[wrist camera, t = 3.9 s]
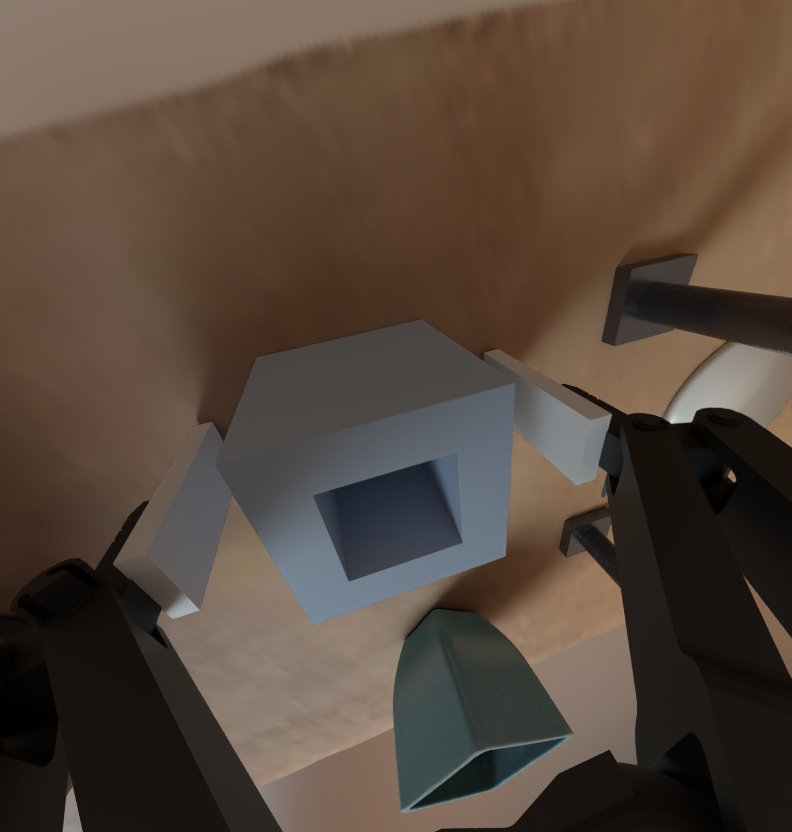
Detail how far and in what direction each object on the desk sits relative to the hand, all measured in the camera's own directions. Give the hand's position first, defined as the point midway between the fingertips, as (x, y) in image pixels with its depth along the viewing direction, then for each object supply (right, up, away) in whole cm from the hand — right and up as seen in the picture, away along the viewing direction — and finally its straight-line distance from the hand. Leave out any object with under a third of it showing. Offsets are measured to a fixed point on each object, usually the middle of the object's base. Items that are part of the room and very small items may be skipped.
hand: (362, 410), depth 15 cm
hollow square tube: (0, 0, 0) cm, 0 cm away
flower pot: (+5, -19, +13) cm, 23 cm away
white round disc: (+25, +1, +7) cm, 26 cm away
